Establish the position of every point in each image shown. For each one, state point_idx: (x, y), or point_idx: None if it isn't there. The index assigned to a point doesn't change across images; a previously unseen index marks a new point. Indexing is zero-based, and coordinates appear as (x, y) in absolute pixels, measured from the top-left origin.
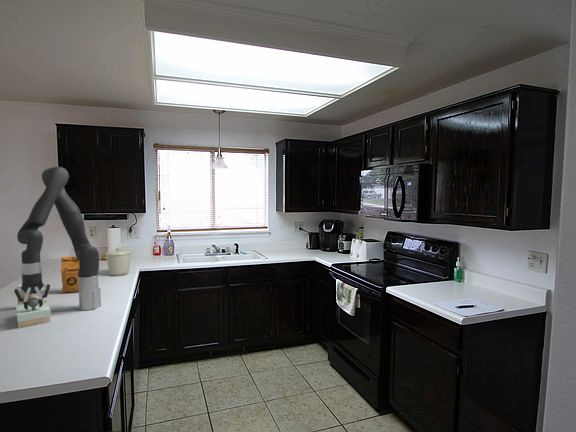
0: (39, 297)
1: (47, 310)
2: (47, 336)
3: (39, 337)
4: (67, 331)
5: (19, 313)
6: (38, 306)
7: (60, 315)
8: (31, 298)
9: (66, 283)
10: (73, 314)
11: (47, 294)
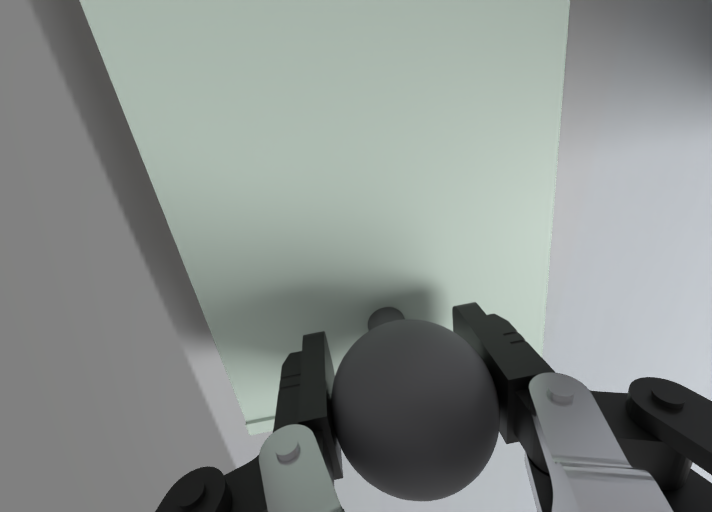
0: (540, 491)
1: None
2: (445, 509)
3: (411, 509)
4: None
5: (253, 378)
6: (433, 166)
7: (565, 147)
8: (409, 494)
9: None
10: (656, 179)
11: (707, 502)
